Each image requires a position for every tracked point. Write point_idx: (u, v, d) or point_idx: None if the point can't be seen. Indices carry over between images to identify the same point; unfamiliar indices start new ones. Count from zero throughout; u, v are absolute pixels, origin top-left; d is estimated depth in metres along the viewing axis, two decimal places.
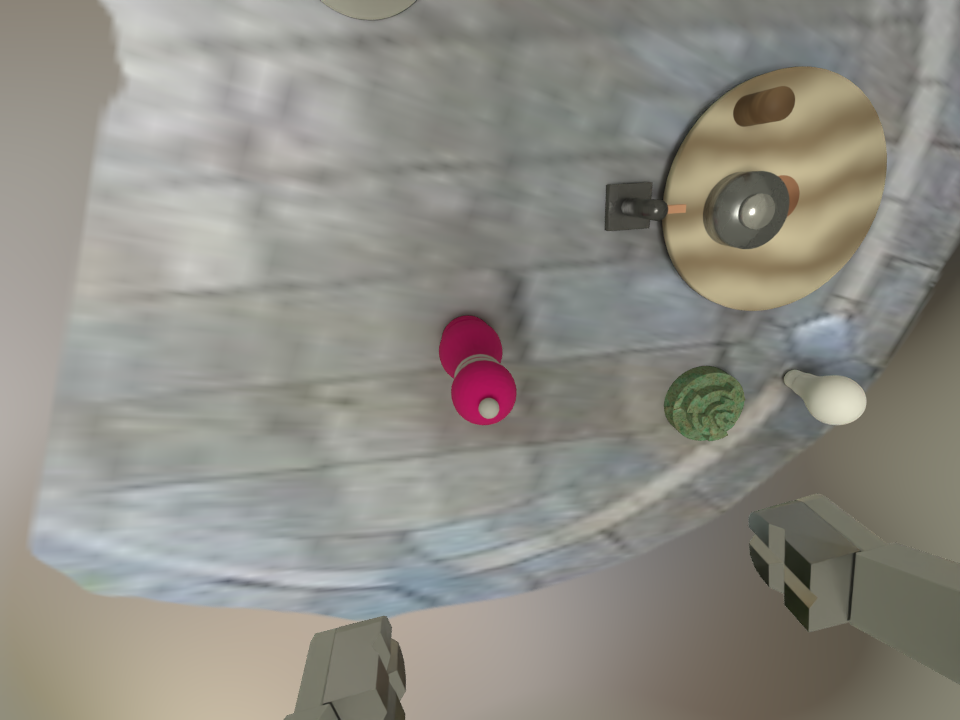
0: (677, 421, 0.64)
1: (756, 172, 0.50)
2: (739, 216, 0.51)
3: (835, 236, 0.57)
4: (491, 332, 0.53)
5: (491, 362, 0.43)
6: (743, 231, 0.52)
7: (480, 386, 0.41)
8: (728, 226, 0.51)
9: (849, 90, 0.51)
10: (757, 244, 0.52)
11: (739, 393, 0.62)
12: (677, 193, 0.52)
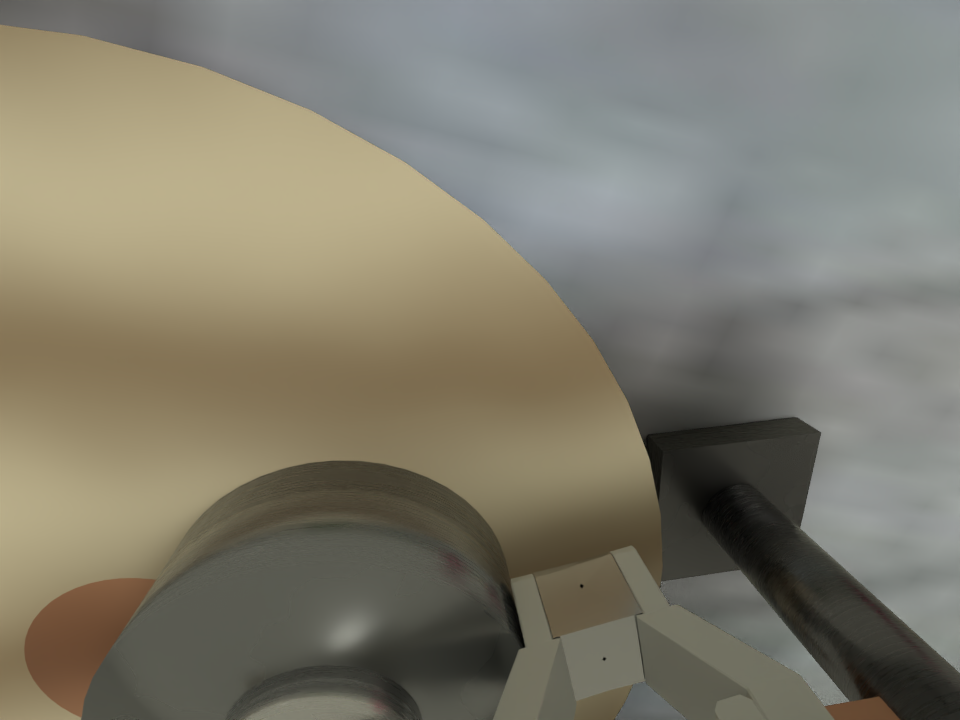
0: None
1: None
2: (417, 718, 0.09)
3: None
4: None
5: None
6: (359, 646, 0.08)
7: None
8: (464, 658, 0.09)
9: None
10: (221, 597, 0.07)
11: None
12: None
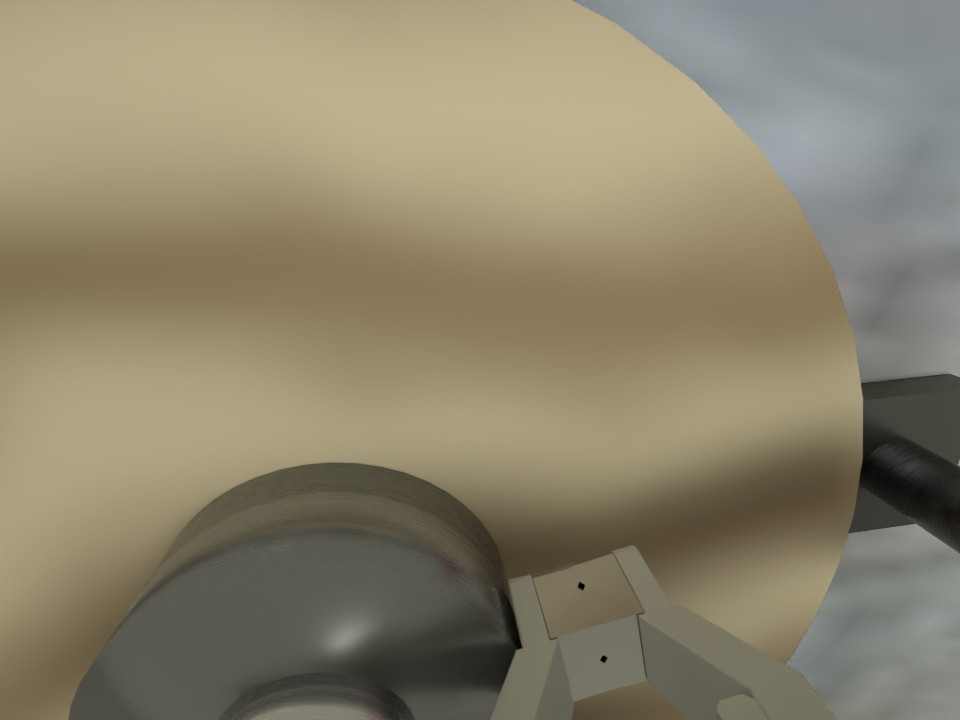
0: None
1: None
2: None
3: None
4: None
5: None
6: (354, 654, 0.08)
7: None
8: (461, 667, 0.08)
9: None
10: (214, 603, 0.07)
11: None
12: (810, 571, 0.13)
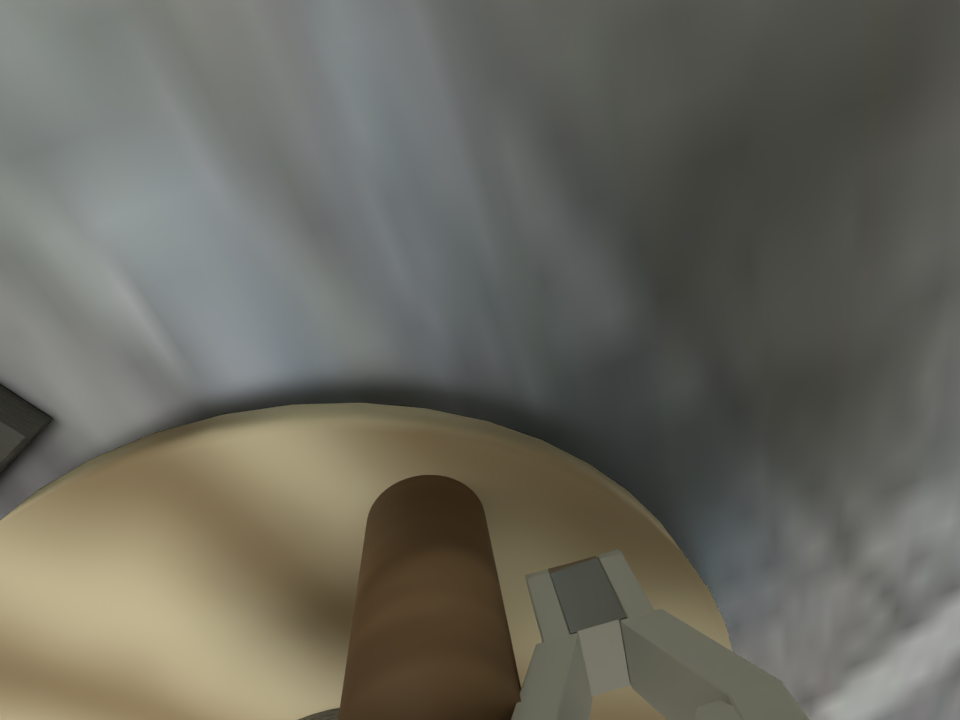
0: None
1: None
2: None
3: None
4: None
5: None
6: None
7: None
8: None
9: None
10: None
11: None
12: None
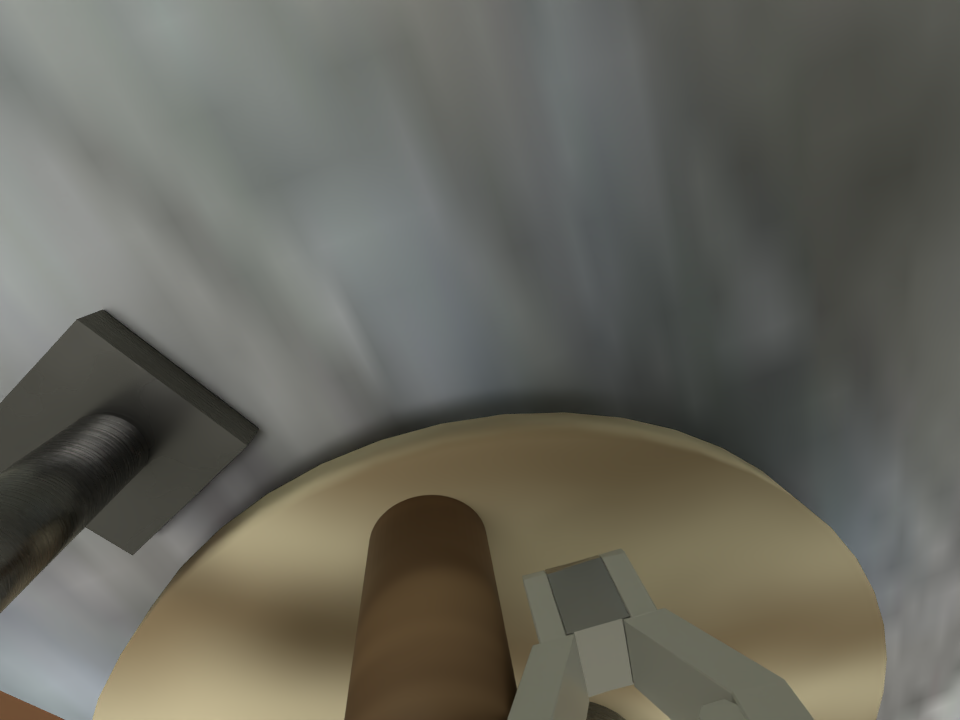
0: None
1: None
2: None
3: None
4: None
5: None
6: None
7: None
8: None
9: (821, 554, 0.14)
10: None
11: None
12: None
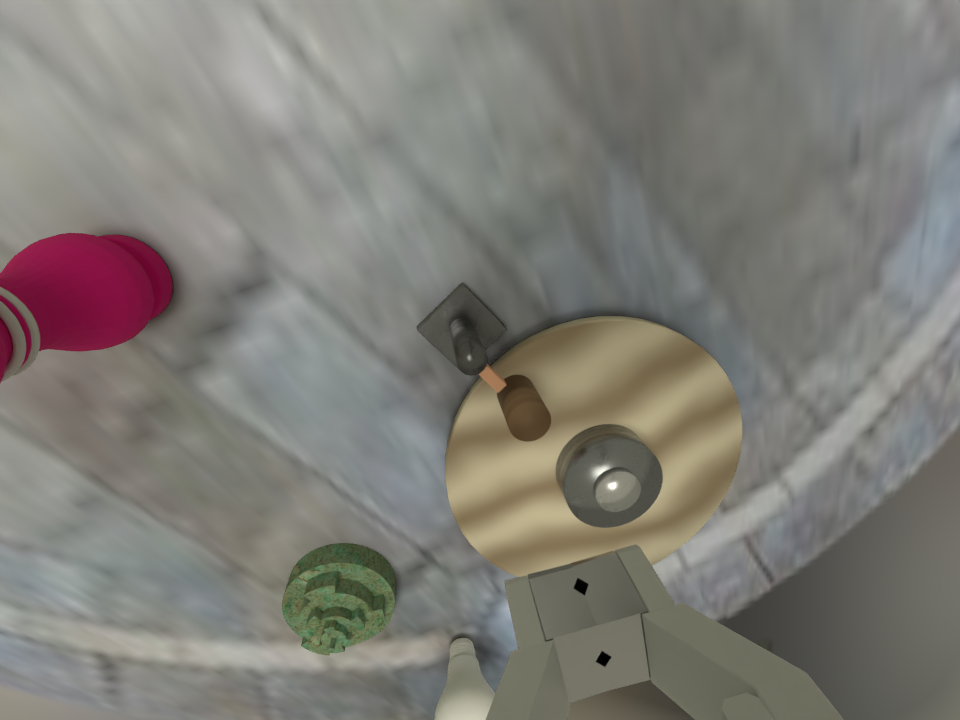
0: (290, 593, 0.43)
1: (603, 447, 0.37)
2: (595, 498, 0.38)
3: (692, 484, 0.43)
4: (134, 296, 0.29)
5: None
6: (607, 510, 0.39)
7: None
8: (584, 509, 0.38)
9: (652, 334, 0.37)
10: (631, 518, 0.39)
11: (381, 619, 0.43)
12: (457, 496, 0.40)
